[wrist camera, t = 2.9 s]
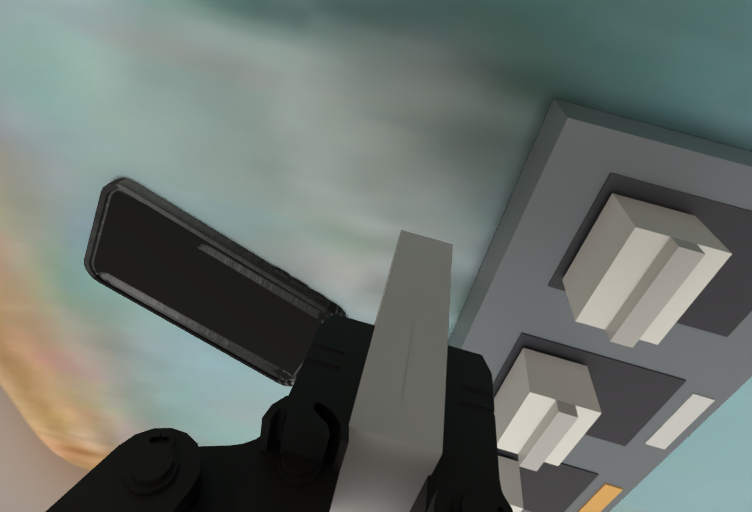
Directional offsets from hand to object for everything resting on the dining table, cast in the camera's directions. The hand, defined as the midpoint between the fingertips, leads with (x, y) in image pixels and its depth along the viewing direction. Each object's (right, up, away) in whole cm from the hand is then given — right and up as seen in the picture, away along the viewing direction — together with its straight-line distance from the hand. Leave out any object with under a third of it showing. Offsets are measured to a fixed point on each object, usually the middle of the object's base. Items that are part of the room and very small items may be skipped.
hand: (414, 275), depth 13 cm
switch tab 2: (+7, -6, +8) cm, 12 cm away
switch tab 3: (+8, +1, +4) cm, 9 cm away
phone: (-11, -1, +14) cm, 17 cm away
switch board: (+9, -4, +11) cm, 15 cm away
